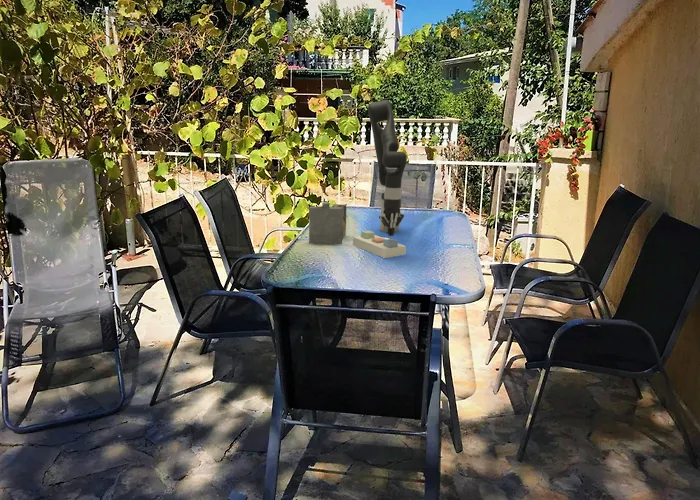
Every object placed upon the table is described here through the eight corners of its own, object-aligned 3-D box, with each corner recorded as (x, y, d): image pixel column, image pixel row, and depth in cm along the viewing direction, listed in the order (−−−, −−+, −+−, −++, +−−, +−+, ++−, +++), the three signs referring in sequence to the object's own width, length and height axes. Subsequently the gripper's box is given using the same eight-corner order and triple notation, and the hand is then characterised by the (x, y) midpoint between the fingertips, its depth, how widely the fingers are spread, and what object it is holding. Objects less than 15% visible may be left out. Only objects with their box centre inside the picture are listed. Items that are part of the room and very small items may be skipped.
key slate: (391, 244, 245) (391, 238, 244) (397, 246, 241) (398, 240, 240) (383, 245, 242) (383, 239, 242) (389, 248, 239) (389, 241, 238)
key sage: (368, 236, 259) (369, 230, 258) (374, 238, 255) (374, 232, 255) (361, 237, 257) (361, 231, 256) (366, 239, 253) (366, 233, 252)
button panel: (373, 242, 263) (373, 234, 262) (405, 254, 243) (406, 246, 242) (352, 245, 257) (352, 236, 256) (384, 258, 236) (384, 249, 235)
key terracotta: (379, 243, 252) (380, 237, 252) (385, 245, 249) (385, 239, 248) (371, 244, 250) (372, 238, 249) (377, 246, 246) (377, 240, 245)
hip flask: (341, 242, 261) (342, 202, 256) (342, 244, 257) (343, 203, 252) (309, 242, 260) (309, 201, 255) (308, 244, 256) (309, 202, 251)
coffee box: (333, 234, 276) (334, 203, 272) (346, 235, 275) (346, 204, 271) (329, 238, 268) (330, 207, 264) (342, 239, 267) (342, 207, 262)
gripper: (399, 195, 242) (397, 232, 247) (375, 197, 235) (373, 235, 240) (409, 197, 236) (407, 235, 241) (385, 199, 229) (383, 239, 234)
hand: (390, 235), depth 240 cm, fingers closed
